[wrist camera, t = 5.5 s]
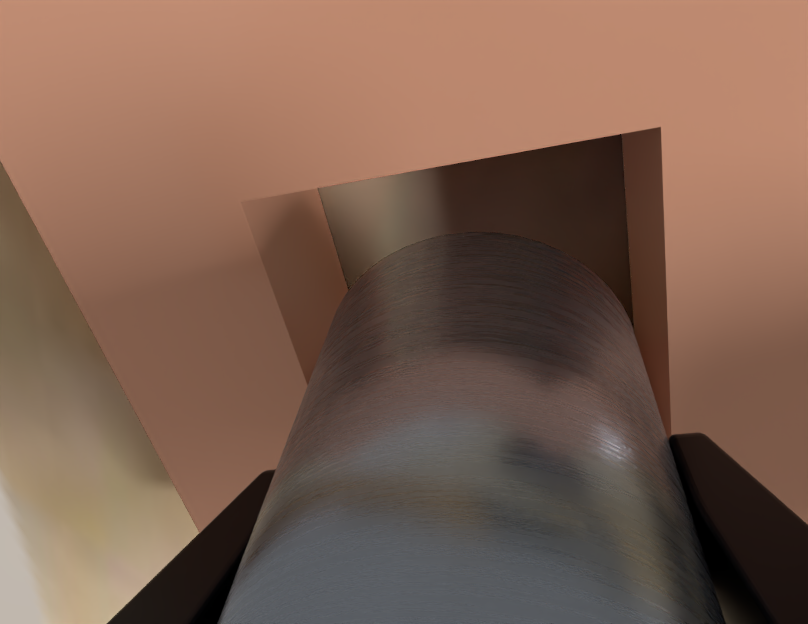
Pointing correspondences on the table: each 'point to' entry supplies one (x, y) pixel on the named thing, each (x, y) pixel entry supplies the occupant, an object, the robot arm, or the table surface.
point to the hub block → (399, 153)
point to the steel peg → (476, 458)
